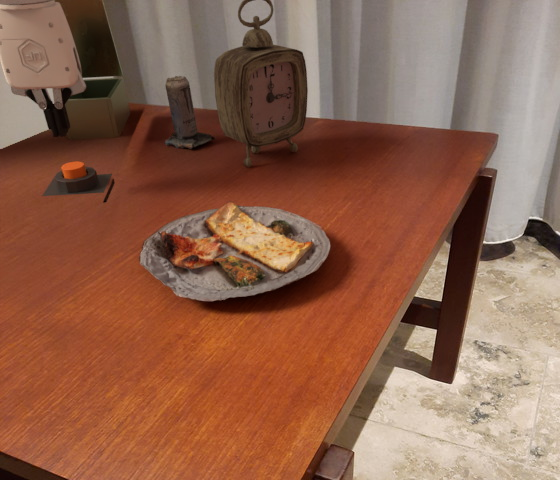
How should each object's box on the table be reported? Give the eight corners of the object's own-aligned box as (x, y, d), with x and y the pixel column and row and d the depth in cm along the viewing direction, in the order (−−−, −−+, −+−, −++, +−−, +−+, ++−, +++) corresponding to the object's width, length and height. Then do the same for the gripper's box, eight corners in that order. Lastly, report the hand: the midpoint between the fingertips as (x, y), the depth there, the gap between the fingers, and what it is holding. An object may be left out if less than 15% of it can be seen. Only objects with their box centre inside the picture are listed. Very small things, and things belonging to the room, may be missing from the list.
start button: (62, 181, 89) (58, 170, 88) (67, 172, 92) (64, 162, 91) (84, 179, 89) (81, 169, 88) (89, 171, 92) (86, 160, 91)
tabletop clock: (245, 173, 97) (232, 3, 81) (216, 159, 103) (199, -2, 86) (307, 152, 104) (307, -9, 87) (277, 140, 109) (272, -13, 93)
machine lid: (99, -11, 101) (101, -26, 104) (44, -8, 101) (48, -23, 104) (122, 76, 116) (124, 60, 118) (74, 78, 116) (77, 63, 118)
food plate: (115, 253, 77) (109, 229, 75) (252, 205, 87) (250, 183, 85) (210, 336, 62) (206, 310, 59) (362, 266, 72) (364, 241, 70)
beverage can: (160, 148, 108) (149, 80, 100) (180, 135, 114) (171, 70, 106) (201, 152, 106) (192, 84, 98) (219, 139, 111) (212, 73, 103)
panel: (44, 206, 90) (37, 185, 87) (56, 186, 96) (50, 166, 93) (106, 202, 90) (101, 181, 88) (114, 183, 96) (110, 163, 94)
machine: (120, 145, 110) (110, 98, 104) (70, 148, 110) (57, 100, 104) (132, 121, 122) (123, 77, 116) (86, 123, 122) (75, 79, 116)
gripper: (-44, -2, 71) (5, 144, 83) (73, -5, 72) (105, 140, 84) (-24, -10, 77) (20, 128, 89) (85, -13, 77) (113, 124, 89)
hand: (61, 133), depth 86 cm, fingers closed
